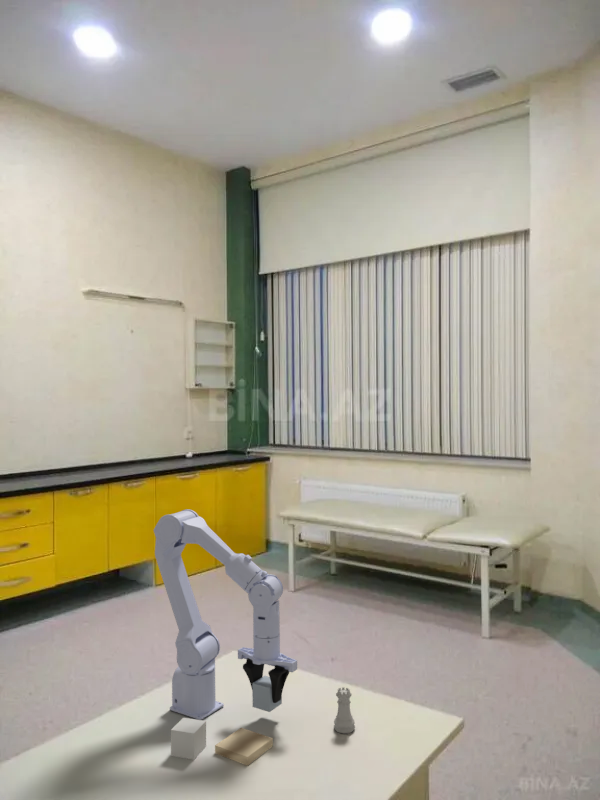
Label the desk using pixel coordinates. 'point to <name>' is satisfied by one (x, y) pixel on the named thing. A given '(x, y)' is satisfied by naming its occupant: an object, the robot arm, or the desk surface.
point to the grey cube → (188, 738)
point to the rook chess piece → (344, 712)
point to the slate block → (263, 695)
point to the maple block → (244, 746)
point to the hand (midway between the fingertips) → (267, 698)
